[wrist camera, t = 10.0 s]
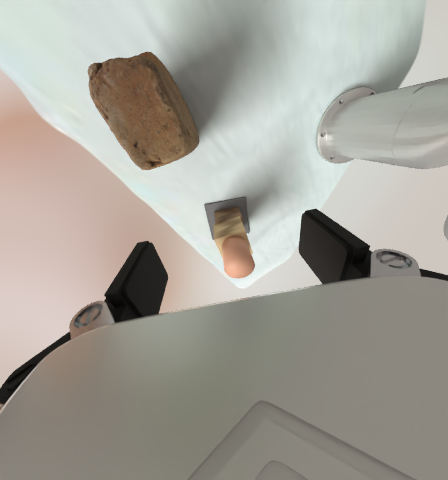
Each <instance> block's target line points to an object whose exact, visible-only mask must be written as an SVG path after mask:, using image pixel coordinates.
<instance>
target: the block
mask: <svg viewBox="0 0 448 480" xmlns="http://www.w3.org/2000/svg"><path fill="white" fill-rule="evenodd" d="M88 75H89V78H90V80H89V89H90V95H91V98H92V100H93V102H94V104H95V106H96V108H97V109H98V111H99V112H100V114H101V115H102V117H103V118H104V120H105V121H106V123H107V124H108V125H109V127H110V130H111V131H112V132H113V133H114V135H115V137H116V138H117V140H118V142H119V143H120V145H121V146H122V147H123V148H124V149H125V150H126V152H127V153H128V155H129V156H130V158H131V159H132V161H133V162H134V163H135V164H136V165H137V166H138V167H140V168H141V169H142V170H151V169H154V168H157V167H160V166H163V165H166V164H168V163H171V162H173V161H176V160H178V159H180V158H182V157H184V156H186V155H188V154H189V153H191V152H192V151H193V150H194V149H195V148H196V147H197V146H198V144H199V135H198V132H197V129H196V126H195V123H194V121H193V119H192V116H191V114H190V112H189V109H188V107H187V105H186V103H185V101H184V99H183V97H182V95H181V93H180V91H179V89H178V87H177V85H176V83H175V82H174V80H173V78H172V77H171V75H170V73H169V72H168V70H167V69H166V67H165V66H164V65H163V63H162V62H161V61H160V60H159V59H158V58H157V57H156V56H155V55H154V54H153V53H151V52H145V53H142V54H140V55H138V56H134V57H131V58H115V59H109V60H107V61H105V62H103V63H94V64H91V65H90V67H89V69H88Z"/></svg>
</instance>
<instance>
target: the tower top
mask: <svg viewBox="0 0 448 480" xmlns="http://www.w3.org/2000/svg"><path fill="white" fill-rule="evenodd" d="M213 228H214V240H215V243H216V245H217V247H218V249H219V251H220V253H221V255H222V258H223V253H222V244H223V242H224V240H225V239H227V238H228V237H230V236H241V237H243V238H244V239H245V240H246V241H247V244H248V247H249V249H250V252H251V254H252V250H251V247H250V243H249V240H248V237H247V234H246V231H245V228H244V226H243V223H242V221H241V218H240V216H237V217H234V218H232V219H229V220H226V221H223V222H221V223H218V224H215V225H213Z"/></svg>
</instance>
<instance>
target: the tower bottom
mask: <svg viewBox="0 0 448 480" xmlns="http://www.w3.org/2000/svg"><path fill="white" fill-rule="evenodd" d="M214 216H215V224H218V223H221V222H223V221H226V220H229V219H232V218H234V217H237V216H240V218H241V221H242V223H243V218H242V215H241V212H240V210H239V208H238V207H235V208H230V209H224V210H219V211H214Z"/></svg>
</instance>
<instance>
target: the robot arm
mask: <svg viewBox="0 0 448 480" xmlns="http://www.w3.org/2000/svg"><path fill="white" fill-rule="evenodd" d="M316 145H317V149H318V152H319V154H320V155H321V157H322V158H323V159H325V160H326V161H328V162H331V163H345V162H348V161H351V160H353V159H354V158H356V159H362V160H369V161H374V162H380V163H386V164H391V165H397V166H404V167H409V168H417V169H429V168H436V167H441V166H445V165H448V78H443V79H439V80H435V81H431V82H426V83H422V84H417V85H413V86H409V87H404V88H400V89H396V90H391V91H387V92H383V93H379V94H378V93H377V92H376V91H375V90H373V89H371V88H367V87H360V88H355V89H352V90H349V91H347V92H345V93H343V94H342V95H340V96H339V97H338V98H337V99H336V100H334V101H333V102H332V103H331V105H330V106H329V107H328V108H327V110H326V111H325V113H324V115H323V116H322V118H321V121H320V123H319V126H318V129H317V135H316ZM444 235H445V237H446V238H447V240H448V216H447V218H446V221H445V224H444ZM369 248H370V246H369V245H368V244H366V243H365V242H364V241H362V240H361V239H359V238H358V237H356V236H355V235H353V234H352V233H351V232H349V231H348V230H346V229H345V228H343V227H342V226H340V225H339V224H338V223H336V222H335V221H333V220H332V219H330V218H329V217H328V216H326V215H325V214H323V213H322V212H320V211H319V210H317V209H312V210H307V211H305V213H304V214H302V219H301V230H300V241H299V253H300V255H301V256H302V258H303V259H304V260H305V261H306V263H307V264H308V265H309V267H310V268H311V269H312V271H313V272H314V273H315V275H316V276H317V277H318V278H319V280H320V281H321V282H322V284H321V285H315V286H310V287H304V288H298V289H293V290H287V291H281V292H275V293H270V294H265V295H259V296H253V297H248V298H242V299H236V300H231V301H225V302H220V303H214V304H210V305H204V306H198V307H193V308H188V309H182V310H177V311H171V312H166V313H161V314H159V310H160V306H161V302H162V299H163V295H164V292H165V287H166V284H167V280H168V274H167V272H166V270H165V268H164V266H163V264H162V262H161V260H160V258H159V256H158V254H157V252H156V249H155V247H154V245H153V244H152V243H149V241H144V242H139V243H137V245H136V246H135V248H134V249H133V251H132V252H131V254H130V255H129V257H128V258H127V260H126V262H125V263H124V265H123V267H122V268H121V270H120V271H119V273H118V274H117V276H116V277H115V279H114V281H113V282H112V284H111V285H110V287H109V288H108V290H107V291H106V293H105V296H106V299H105V301H97V302H93V303H91V304H89V305H87V306H85V307H84V308H82V309H81V310H80V311H79V312H78V313H77V314H76V315H75V316H74V317H73V319H72V320H71V322H70V327H69V328H70V332H68V333H67V334H66V335H64V336H63V337H61V338H60V339H59V340H57V341H56V342H54V343H53V344H51V345H50V346H49V347H47V348H46V349H44V350H43V351H42V352H40V353H39V354H37V355H36V356H34V357H33V358H32V359H30V360H29V361H28V362H26V363H25V364H23V365H22V366H21V367H19V368H18V369H16V370H15V371H14V372H13V373H12V374H11V375H10V376H9V377H8V379H7V380H6V381H5V383H4V384H3V385H2V387H1V388H0V480H448V275H444V274H440V273H436V272H432V271H428V270H423V269H419V266H418V264H417V262H416V260H415V259H414V258H412V257H411V256H409V255H407V254H405V253H402V252H400V251H396V250H390V249H379V250H375V251H374V252H371V251H370V250H369Z"/></svg>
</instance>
